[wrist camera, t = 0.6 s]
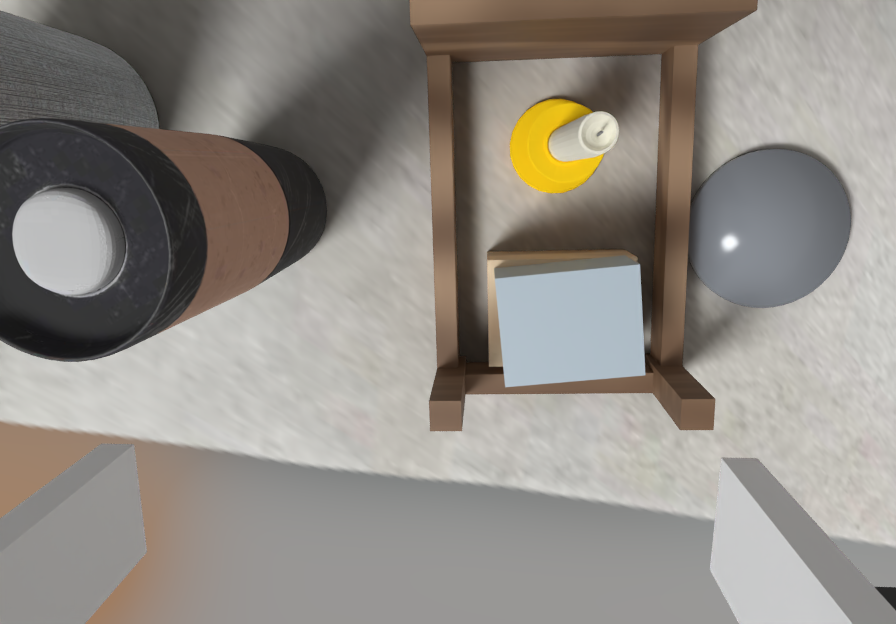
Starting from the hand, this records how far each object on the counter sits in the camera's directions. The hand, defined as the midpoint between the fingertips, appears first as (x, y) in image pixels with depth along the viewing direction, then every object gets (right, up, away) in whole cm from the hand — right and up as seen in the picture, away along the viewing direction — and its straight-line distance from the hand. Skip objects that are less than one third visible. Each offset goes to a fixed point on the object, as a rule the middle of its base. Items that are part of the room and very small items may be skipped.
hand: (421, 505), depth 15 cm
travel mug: (-10, +11, +25) cm, 29 cm away
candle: (+7, +14, +23) cm, 28 cm away
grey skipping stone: (+19, +9, +23) cm, 31 cm away
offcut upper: (+7, +4, +21) cm, 23 cm away
